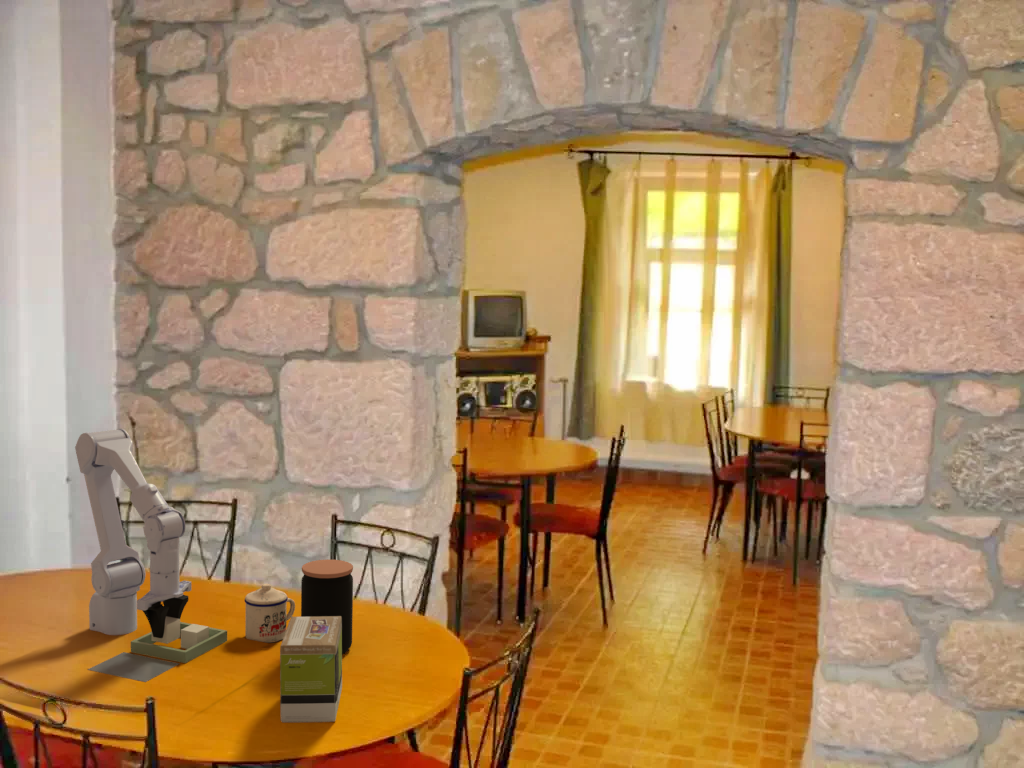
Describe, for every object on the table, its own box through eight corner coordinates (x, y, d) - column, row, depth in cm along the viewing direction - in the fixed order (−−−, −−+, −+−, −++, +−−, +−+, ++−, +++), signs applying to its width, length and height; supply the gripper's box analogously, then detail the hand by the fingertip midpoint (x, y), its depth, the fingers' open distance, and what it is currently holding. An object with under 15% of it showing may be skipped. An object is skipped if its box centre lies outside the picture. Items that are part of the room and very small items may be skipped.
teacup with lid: (260, 647, 217) (261, 594, 215) (235, 636, 223) (236, 584, 221) (306, 633, 226) (307, 582, 224) (281, 623, 232) (281, 573, 230)
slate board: (87, 673, 200) (87, 669, 200) (123, 655, 210) (123, 652, 210) (145, 685, 195) (145, 681, 195) (179, 667, 205) (179, 663, 205)
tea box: (290, 688, 197) (290, 614, 195) (342, 688, 197) (344, 614, 196) (278, 723, 182) (279, 643, 180) (336, 723, 183) (337, 643, 181)
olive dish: (130, 655, 210) (130, 641, 210) (174, 634, 223) (174, 620, 222) (185, 666, 205) (185, 652, 205) (227, 644, 218) (227, 630, 217)
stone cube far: (180, 648, 213) (180, 629, 213) (193, 642, 217) (193, 623, 216) (196, 651, 212) (196, 632, 211) (209, 645, 215) (208, 626, 215)
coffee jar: (361, 645, 220) (363, 564, 217) (332, 662, 210) (334, 577, 208) (320, 636, 224) (321, 556, 222) (290, 652, 214) (291, 569, 212)
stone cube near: (151, 640, 212) (151, 621, 211) (164, 634, 216) (164, 616, 215) (167, 643, 210) (167, 624, 210) (180, 637, 214) (180, 618, 214)
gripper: (156, 582, 203) (157, 648, 205) (203, 563, 217) (203, 625, 218) (128, 577, 206) (128, 642, 207) (175, 559, 219) (176, 620, 221)
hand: (165, 633), depth 213 cm, fingers closed on stone cube near, 4 cm apart
